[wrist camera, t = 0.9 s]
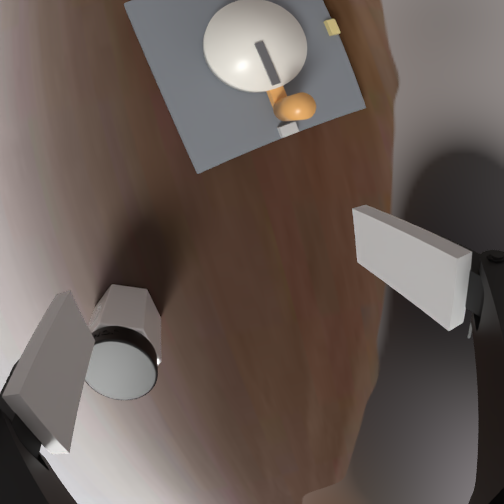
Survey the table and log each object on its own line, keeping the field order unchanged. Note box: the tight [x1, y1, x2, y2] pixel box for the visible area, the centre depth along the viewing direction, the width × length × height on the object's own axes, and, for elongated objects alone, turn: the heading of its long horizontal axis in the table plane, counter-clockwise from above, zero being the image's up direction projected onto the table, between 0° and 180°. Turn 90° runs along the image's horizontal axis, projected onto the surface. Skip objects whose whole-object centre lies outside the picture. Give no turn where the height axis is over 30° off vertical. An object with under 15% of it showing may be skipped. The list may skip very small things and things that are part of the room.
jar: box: [85, 284, 161, 400], centre depth 34 cm, size 9×8×12 cm
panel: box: [124, 0, 366, 174], centre depth 31 cm, size 22×22×3 cm
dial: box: [203, 0, 316, 121], centre depth 28 cm, size 15×11×6 cm
